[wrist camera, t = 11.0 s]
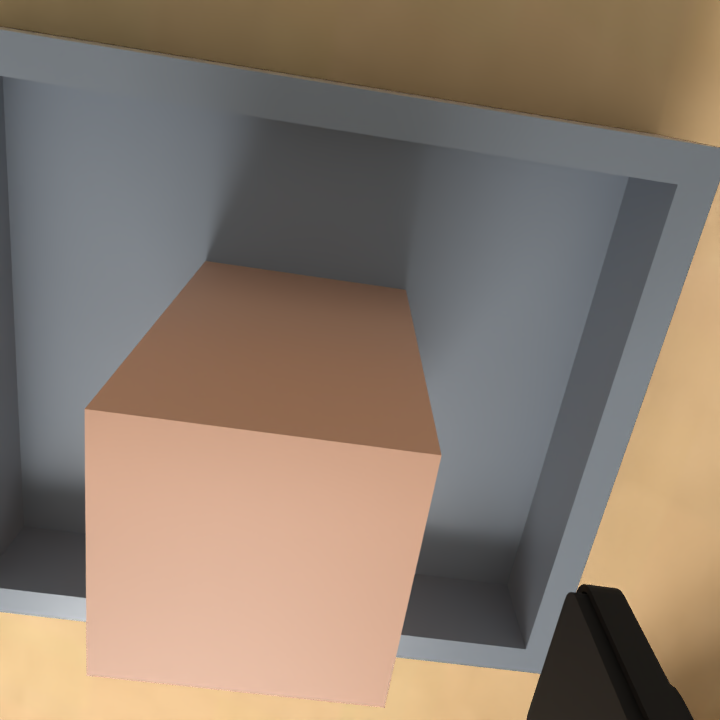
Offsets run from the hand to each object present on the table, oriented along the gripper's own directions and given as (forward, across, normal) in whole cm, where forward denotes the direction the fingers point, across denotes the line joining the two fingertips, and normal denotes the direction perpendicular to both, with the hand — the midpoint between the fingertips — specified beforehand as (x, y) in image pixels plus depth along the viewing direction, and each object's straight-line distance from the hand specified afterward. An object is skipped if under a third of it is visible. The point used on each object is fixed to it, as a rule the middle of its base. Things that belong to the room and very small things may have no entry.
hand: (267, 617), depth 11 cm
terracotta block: (+8, 0, -1) cm, 8 cm away
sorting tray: (+9, 0, -1) cm, 9 cm away
